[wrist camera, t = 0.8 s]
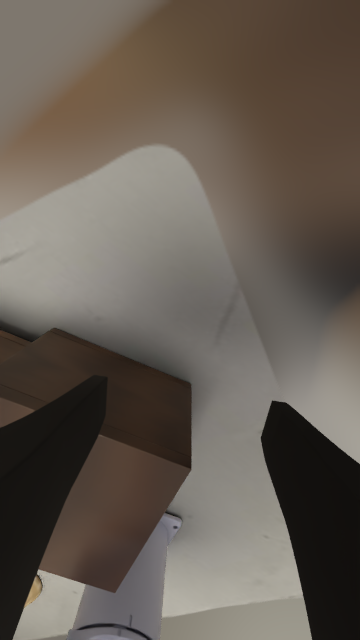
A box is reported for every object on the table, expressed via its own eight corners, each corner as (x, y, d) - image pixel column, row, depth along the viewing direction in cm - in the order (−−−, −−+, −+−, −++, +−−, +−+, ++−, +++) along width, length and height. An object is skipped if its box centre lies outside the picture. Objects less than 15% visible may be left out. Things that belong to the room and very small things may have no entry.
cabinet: (20, 439, 25) (-61, 538, 17) (53, 327, 21) (-32, 385, 13) (138, 482, 26) (115, 594, 18) (191, 383, 22) (191, 469, 14)
